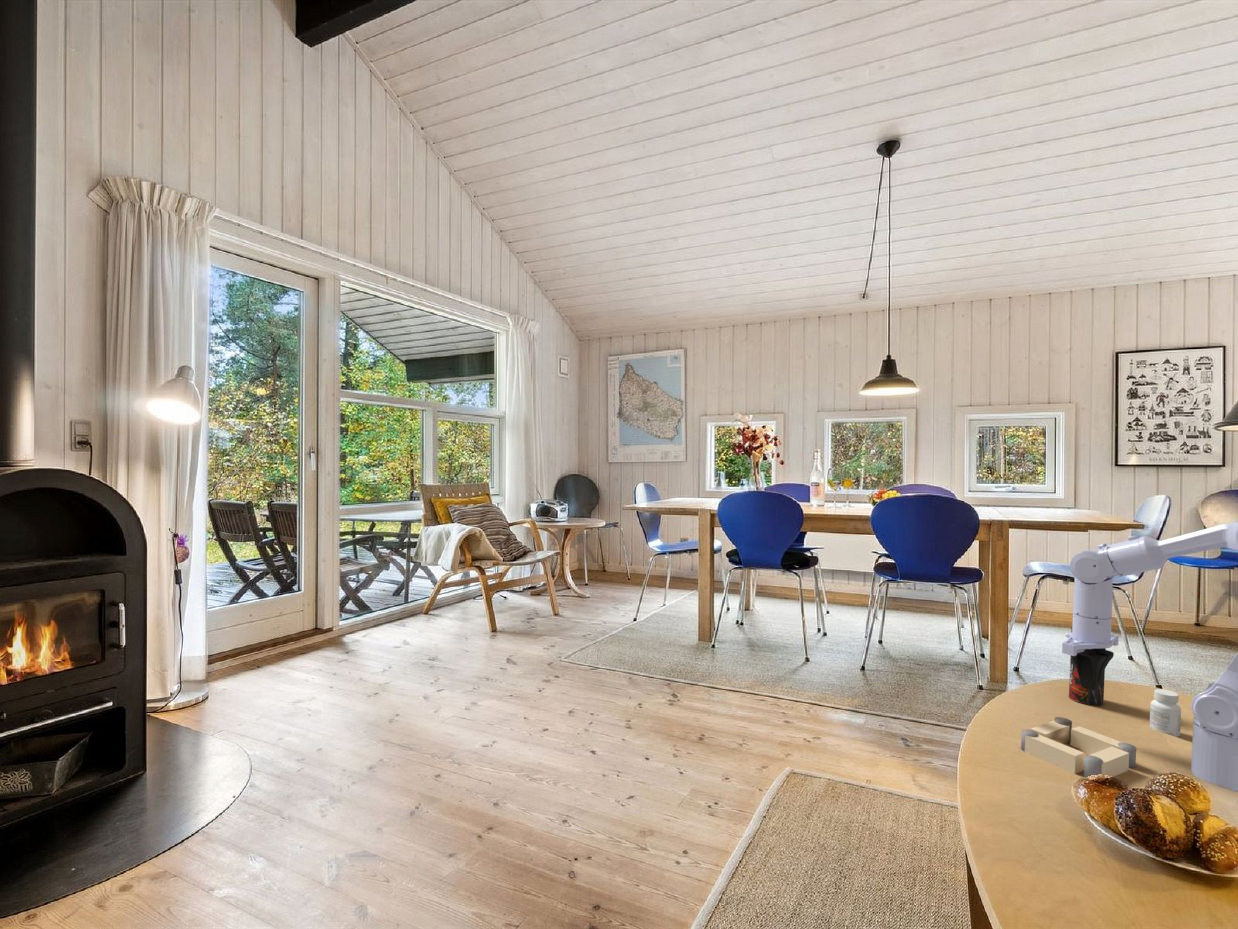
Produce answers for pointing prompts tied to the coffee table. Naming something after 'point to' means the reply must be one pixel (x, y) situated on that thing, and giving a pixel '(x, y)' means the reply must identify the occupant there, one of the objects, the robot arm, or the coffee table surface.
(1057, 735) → the beige long rectangular block
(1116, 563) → the robot arm
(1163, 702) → the pill bottle
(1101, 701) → the deodorant
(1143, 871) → the coffee table surface
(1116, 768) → the hinged beam frame
